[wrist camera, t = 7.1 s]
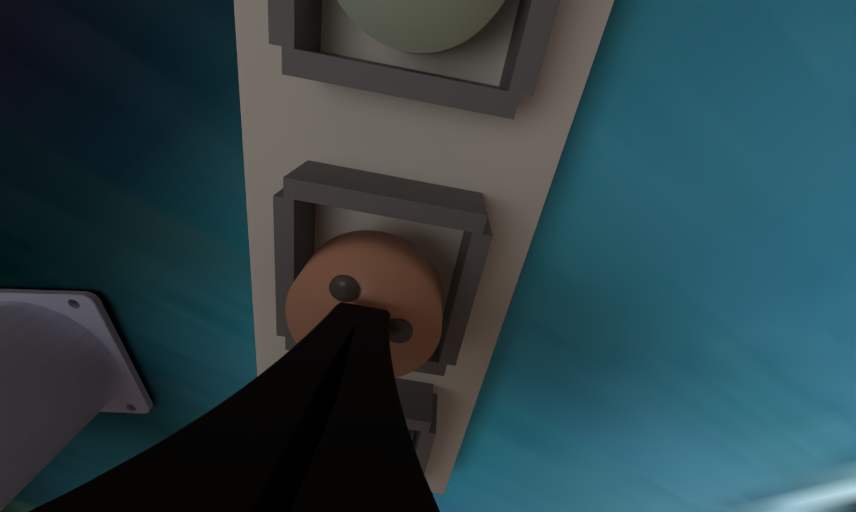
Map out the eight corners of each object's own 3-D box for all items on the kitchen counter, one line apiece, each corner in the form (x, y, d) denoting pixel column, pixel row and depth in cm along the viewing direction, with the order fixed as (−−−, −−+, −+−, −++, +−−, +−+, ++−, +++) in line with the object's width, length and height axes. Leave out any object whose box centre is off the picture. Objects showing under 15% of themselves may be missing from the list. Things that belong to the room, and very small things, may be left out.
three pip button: (429, 356, 13) (427, 393, 11) (303, 335, 13) (284, 369, 11) (456, 244, 11) (457, 273, 9) (305, 217, 10) (282, 241, 9)
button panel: (444, 459, 22) (443, 535, 19) (278, 433, 22) (245, 505, 18) (667, -238, 9) (810, -434, 5) (256, -335, 9) (120, -612, 5)
